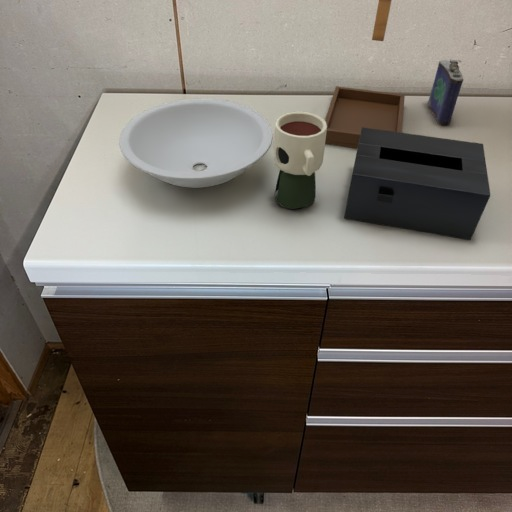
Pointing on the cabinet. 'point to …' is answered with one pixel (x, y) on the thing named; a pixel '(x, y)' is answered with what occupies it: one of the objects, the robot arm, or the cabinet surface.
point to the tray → (361, 114)
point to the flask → (445, 91)
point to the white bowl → (196, 141)
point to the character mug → (298, 157)
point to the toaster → (418, 183)
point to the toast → (381, 20)
